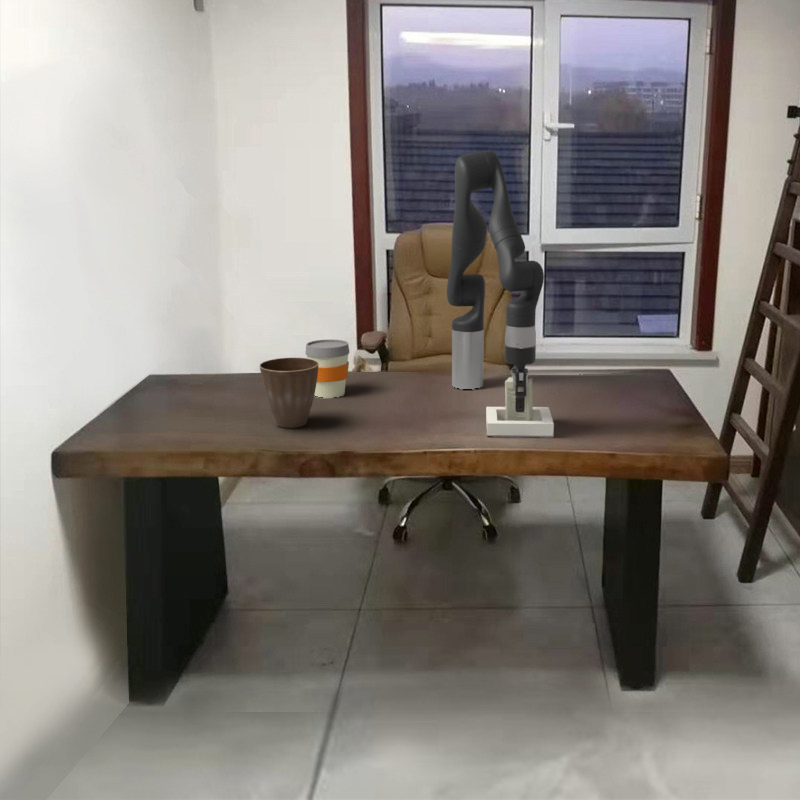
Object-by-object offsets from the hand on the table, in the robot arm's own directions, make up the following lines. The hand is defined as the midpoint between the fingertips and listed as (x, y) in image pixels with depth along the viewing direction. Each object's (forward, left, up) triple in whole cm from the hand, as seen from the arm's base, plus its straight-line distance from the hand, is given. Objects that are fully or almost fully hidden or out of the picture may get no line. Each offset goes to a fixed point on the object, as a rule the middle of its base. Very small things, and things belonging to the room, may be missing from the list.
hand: (519, 406), depth 225 cm
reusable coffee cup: (-32, -53, -6) cm, 62 cm away
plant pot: (-2, -58, -6) cm, 58 cm away
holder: (0, 0, -6) cm, 6 cm away
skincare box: (0, 0, -5) cm, 5 cm away
